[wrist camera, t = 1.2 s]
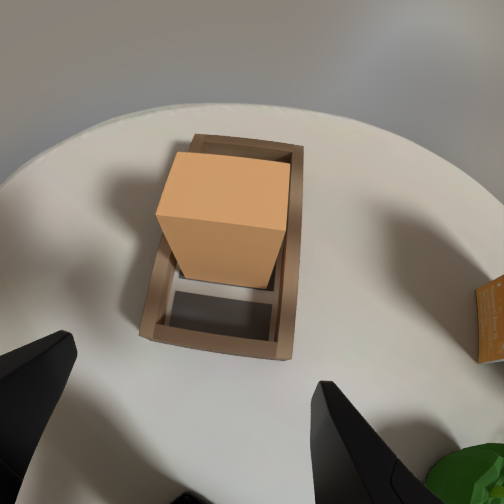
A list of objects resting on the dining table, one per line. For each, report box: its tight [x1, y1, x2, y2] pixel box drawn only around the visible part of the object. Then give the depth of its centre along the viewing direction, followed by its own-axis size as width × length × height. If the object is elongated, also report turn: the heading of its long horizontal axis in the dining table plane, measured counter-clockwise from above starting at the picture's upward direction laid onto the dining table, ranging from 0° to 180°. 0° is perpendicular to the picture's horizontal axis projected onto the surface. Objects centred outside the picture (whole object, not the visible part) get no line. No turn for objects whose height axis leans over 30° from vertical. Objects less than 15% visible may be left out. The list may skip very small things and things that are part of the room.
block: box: [155, 152, 290, 289], centre depth 18 cm, size 4×6×9 cm, turn 83°
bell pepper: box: [424, 443, 504, 504], centre depth 10 cm, size 8×8×10 cm
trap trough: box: [139, 134, 304, 361], centre depth 22 cm, size 18×10×3 cm, turn 173°
